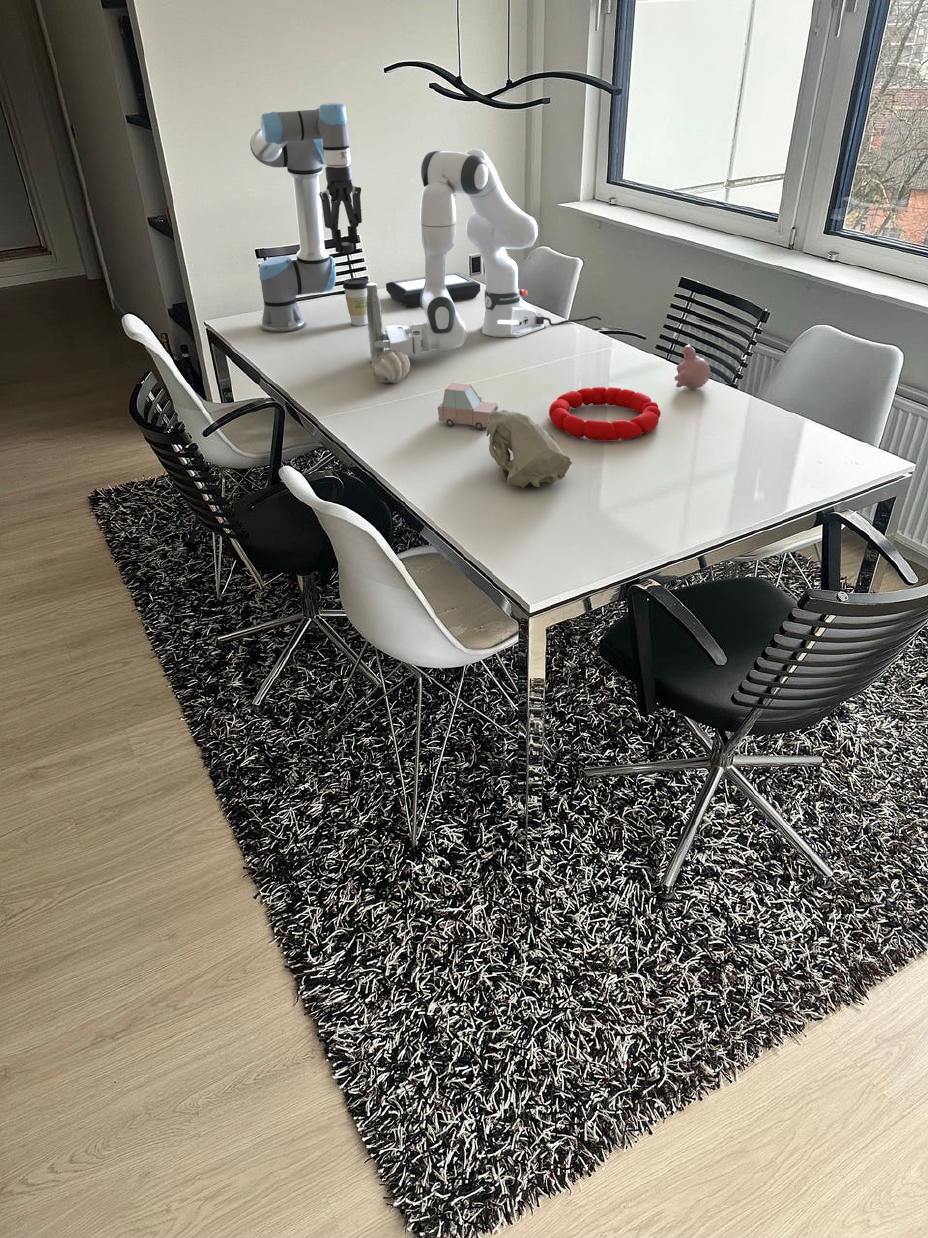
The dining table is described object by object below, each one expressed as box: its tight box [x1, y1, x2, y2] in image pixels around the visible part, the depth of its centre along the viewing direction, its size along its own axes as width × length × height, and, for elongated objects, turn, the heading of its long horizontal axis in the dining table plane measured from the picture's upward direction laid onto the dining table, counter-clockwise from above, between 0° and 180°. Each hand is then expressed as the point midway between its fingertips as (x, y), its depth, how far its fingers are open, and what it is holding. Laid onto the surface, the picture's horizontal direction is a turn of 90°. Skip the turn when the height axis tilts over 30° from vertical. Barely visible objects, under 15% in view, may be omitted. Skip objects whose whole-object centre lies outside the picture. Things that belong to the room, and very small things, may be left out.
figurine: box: [674, 344, 711, 390], centre depth 259 cm, size 9×11×12 cm
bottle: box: [366, 282, 385, 363], centre depth 285 cm, size 4×4×24 cm
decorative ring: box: [548, 386, 661, 442], centre depth 242 cm, size 7×30×30 cm
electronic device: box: [385, 272, 481, 309], centre depth 351 cm, size 32×6×20 cm
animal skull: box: [485, 409, 573, 489], centre depth 216 cm, size 17×25×20 cm
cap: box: [342, 241, 355, 253], centre depth 269 cm, size 4×4×2 cm
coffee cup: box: [342, 277, 370, 327], centre depth 323 cm, size 10×10×15 cm
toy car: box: [437, 382, 499, 431], centre depth 243 cm, size 9×15×10 cm, turn 70°
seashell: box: [371, 349, 411, 384], centre depth 271 cm, size 10×15×10 cm
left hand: (346, 250), depth 270 cm, fingers closed on cap, 4 cm apart
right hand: (373, 341), depth 288 cm, fingers closed on bottle, 4 cm apart
